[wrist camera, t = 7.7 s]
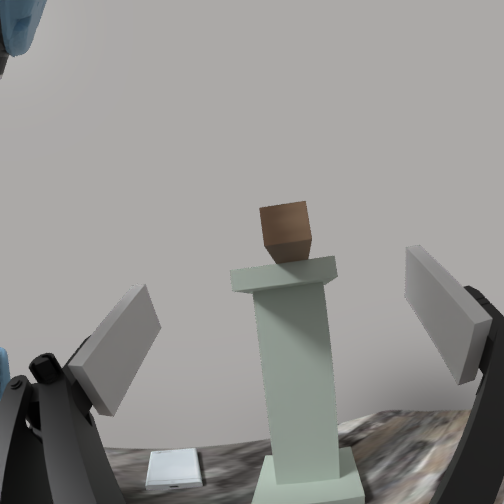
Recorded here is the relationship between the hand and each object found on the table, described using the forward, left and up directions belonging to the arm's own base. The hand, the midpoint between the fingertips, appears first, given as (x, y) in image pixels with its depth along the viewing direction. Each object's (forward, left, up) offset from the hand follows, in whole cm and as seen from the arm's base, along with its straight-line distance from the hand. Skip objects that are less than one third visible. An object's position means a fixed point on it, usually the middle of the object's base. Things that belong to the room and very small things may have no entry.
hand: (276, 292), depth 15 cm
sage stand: (+7, +21, -26) cm, 34 cm away
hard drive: (-11, +32, -27) cm, 43 cm away
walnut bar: (+6, +15, +3) cm, 17 cm away
